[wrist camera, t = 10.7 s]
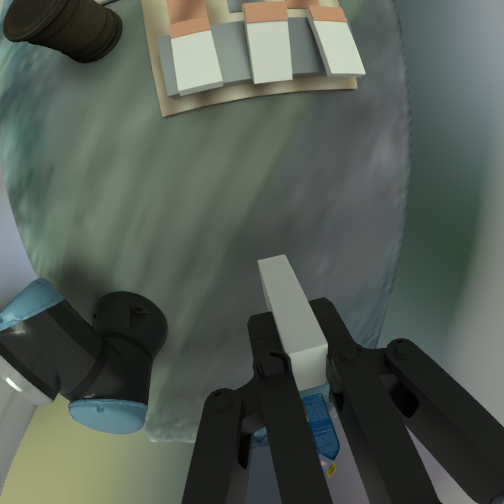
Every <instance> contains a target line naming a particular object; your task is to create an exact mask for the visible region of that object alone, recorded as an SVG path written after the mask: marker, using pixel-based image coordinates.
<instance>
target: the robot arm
mask: <svg viewBox="0 0 504 504" xmlns="http://www.w3.org/2000/svg"><path fill="white" fill-rule="evenodd" d="M258 265H259V270H260V275H261V280H262V286H263V291H264V296H265V300H266V304H267V307H268V311H269V312H266V313H262V314H257V315H253V316H250V318H249V321H248V324H247V326H248V332H249V337H250V342H251V348H252V353H253V359H254V361H253V371H254V376H253V378H252V379H251V380H250V381H249V382H248V383H247V384H246V385H244V386H242V387H240V388H238V389H236V390H232V389H227V388H224V389H218V390H216V391H214V392H212V393H211V394H210V395H209V396H208V397H207V399H206V401H205V404H204V408H203V412H202V417H201V421H200V425H199V429H198V434H197V438H196V442H195V446H194V451H193V456H192V459H191V463H190V468H189V472H188V477H187V481H186V485H185V490H184V495H183V499H182V503H181V504H245V502H246V494H247V487H248V480H249V471H250V464H251V456H252V447H253V439H254V432H255V431H257V430H259V429H261V428H263V427H265V426H266V431H267V435H268V440H269V445H270V450H271V455H272V459H273V464H274V468H275V473H276V478H277V483H278V487H279V492H280V496H281V501H282V504H333V502H332V499H331V496H330V493H329V489H328V486H327V483H326V480H325V476H324V473H323V469H322V466H321V463H320V460H319V456H318V453H317V450H316V447H315V443H314V440H313V437H312V434H311V430H310V427H309V424H308V421H307V417H306V414H305V411H304V408H303V404H302V401H301V398H300V395H299V391H301V390H305V389H309V388H312V387H316V386H319V385H322V384H326V378H327V380H328V383H329V385H330V390H329V402H332V400H333V403H334V406H335V408H336V411H337V414H338V416H339V419H340V422H341V424H342V427H343V429H344V432H345V435H346V438H347V440H348V443H349V446H350V448H351V451H352V454H353V456H354V459H355V462H356V465H357V467H358V471H359V473H360V476H361V479H362V482H363V485H364V487H365V490H366V493H367V496H368V499H369V502H370V504H442V503H441V502H440V501H439V499H438V497H437V494H436V492H435V490H434V487H433V485H432V483H431V480H430V478H429V476H428V473H427V471H426V469H425V467H424V465H423V462H422V460H421V458H420V456H419V454H418V451H417V449H416V447H415V445H414V443H413V441H412V439H411V437H410V435H409V433H408V431H407V429H406V426H407V427H408V429H409V430H410V431H411V432H412V433H413V434H414V435H415V436H416V438H417V439H418V440H419V441H420V442H421V443H422V444H423V445H424V446H425V448H426V449H427V450H428V451H429V452H430V453H431V454H432V455H433V457H434V458H435V459H436V460H437V461H438V462H439V463H440V464H441V466H442V467H443V468H444V469H445V470H446V471H447V472H448V473H449V474H450V476H451V477H452V478H453V479H454V480H455V481H456V482H457V484H458V485H459V486H460V487H461V488H462V489H463V490H464V491H465V492H466V493H467V495H468V496H469V497H470V498H472V499H473V500H474V501H475V502H477V503H478V504H504V427H503V426H502V425H501V424H500V423H499V422H498V421H497V420H496V419H495V418H494V417H493V416H492V415H491V414H490V413H489V412H488V411H487V410H486V409H485V408H484V407H483V406H482V405H480V403H479V402H478V401H477V400H475V399H474V398H473V397H472V396H471V395H470V394H469V393H468V392H467V391H466V390H465V389H464V388H463V387H462V386H460V384H458V383H457V382H456V381H455V380H454V379H453V378H452V377H451V376H450V375H449V374H448V373H446V372H445V371H444V370H443V369H442V368H441V367H440V366H439V365H438V364H437V363H436V362H434V361H433V360H432V359H431V358H430V357H429V356H428V355H427V354H426V353H424V352H423V351H422V350H421V349H420V348H419V347H418V346H417V345H415V344H414V343H413V342H411V341H410V340H408V339H404V338H400V339H395V340H393V341H391V342H390V343H389V344H388V345H387V348H380V349H367V348H363V347H362V346H361V345H359V344H357V343H355V341H354V340H353V338H352V337H351V335H350V333H349V331H348V329H347V328H346V326H345V324H344V322H343V321H342V319H341V318H340V315H339V314H338V312H337V310H336V308H335V307H334V305H333V303H332V302H330V301H329V300H328V299H326V298H325V297H323V298H319V299H315V300H312V301H307V299H306V296H305V294H304V292H303V290H302V288H301V286H300V284H299V282H298V280H297V278H296V276H295V274H294V272H293V270H292V268H291V266H290V264H289V262H288V260H287V258H286V256H285V254H284V255H279V256H275V257H270V258H266V259H262V260H258ZM166 333H167V323H166V319H165V317H164V315H163V314H162V312H161V311H160V310H159V308H158V307H157V306H155V305H154V304H153V303H152V302H150V301H149V300H147V299H146V298H144V297H142V296H139V295H137V294H133V293H129V292H113V293H110V294H107V295H105V296H104V297H102V298H101V299H100V300H99V302H98V303H97V305H96V307H95V309H94V312H93V316H92V327H91V326H90V325H89V324H88V323H87V322H86V321H85V320H84V319H83V318H82V317H81V316H80V315H79V313H78V312H77V311H76V310H75V309H74V308H73V307H72V306H71V305H70V304H69V303H68V301H67V300H66V299H65V296H64V295H61V294H60V293H59V292H58V291H57V290H56V289H55V288H54V287H53V285H52V284H51V283H50V282H49V281H47V280H46V279H42V278H39V279H37V280H34V281H33V282H32V283H30V284H29V285H28V286H27V287H26V288H24V289H23V290H22V291H21V292H20V293H19V294H18V295H17V296H15V297H14V298H13V299H12V300H11V301H10V302H9V303H8V304H7V305H6V306H5V307H4V308H3V309H2V310H1V311H0V495H1V492H2V489H3V486H4V483H5V480H6V477H7V474H8V472H9V469H10V467H11V464H12V461H13V459H14V456H15V454H16V452H17V449H18V447H19V445H20V442H21V440H22V438H23V436H24V434H25V432H26V429H27V427H28V425H29V423H30V421H31V419H32V417H33V415H34V413H35V411H36V409H37V407H38V406H39V405H41V404H47V403H53V402H54V400H55V398H56V396H57V394H58V393H60V394H61V395H62V396H64V397H65V398H66V399H68V400H69V401H70V403H69V405H68V408H69V413H70V415H71V416H72V418H73V419H75V420H76V421H77V422H79V423H80V424H82V425H84V426H87V427H89V428H92V429H95V430H98V431H102V432H107V433H113V434H129V433H134V432H137V431H139V430H140V429H141V428H142V427H143V425H144V422H145V417H146V411H147V410H148V398H149V388H150V379H151V371H152V364H153V360H154V358H155V357H156V355H157V353H158V351H159V350H160V349H161V347H162V346H163V344H164V342H165V339H166ZM405 425H406V426H405Z"/></svg>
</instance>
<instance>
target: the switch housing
mask: <svg viewBox="0 0 504 504" xmlns="http://www.w3.org/2000/svg"><path fill="white" fill-rule="evenodd" d="M287 21H288V31H289V41H290V53H291V65H292V78H301V77H321V76H327V73H326V69H325V66H324V63H323V60H322V57H321V54H320V51H319V48H318V45H317V42H316V39H315V37H314V34H313V31H312V28H311V26H310V23H309V21H308V18H307V17H288V20H287ZM347 25H348V27H349V30H350V32H351V35H352V37H353V34H352V30H351V26H350V22H349V20H347ZM210 28H211V33H212V37H213V41H214V45H215V50H216V54H217V58H218V62H219V66H220V71H221V75H222V79H223V87H218V88H213V89H208V90H204V91H200V92H195V93H191V94H187V95H183V96H180V94H179V91H178V85H177V79H176V72H175V65H174V58H173V51H172V44H171V38H170V35H167V36H163V37H160V38H157V44H158V49H159V55H160V60H161V65H162V70H163V76H164V80H165V85H166V90H167V95H168V97H170V98H172V99H177V98H181V97H184V96H188V95H192V94H196V93H201V92H205V91H210V90H214V89H219V88H224V87H229V86H235V85H241V84H247V83H253V80H252V73H251V66H250V58H249V51H248V44H247V37H246V30H245V24H244V20H243V21H235V22H228V23H221V24H216V25H210ZM353 40H354V38H353Z"/></svg>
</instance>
